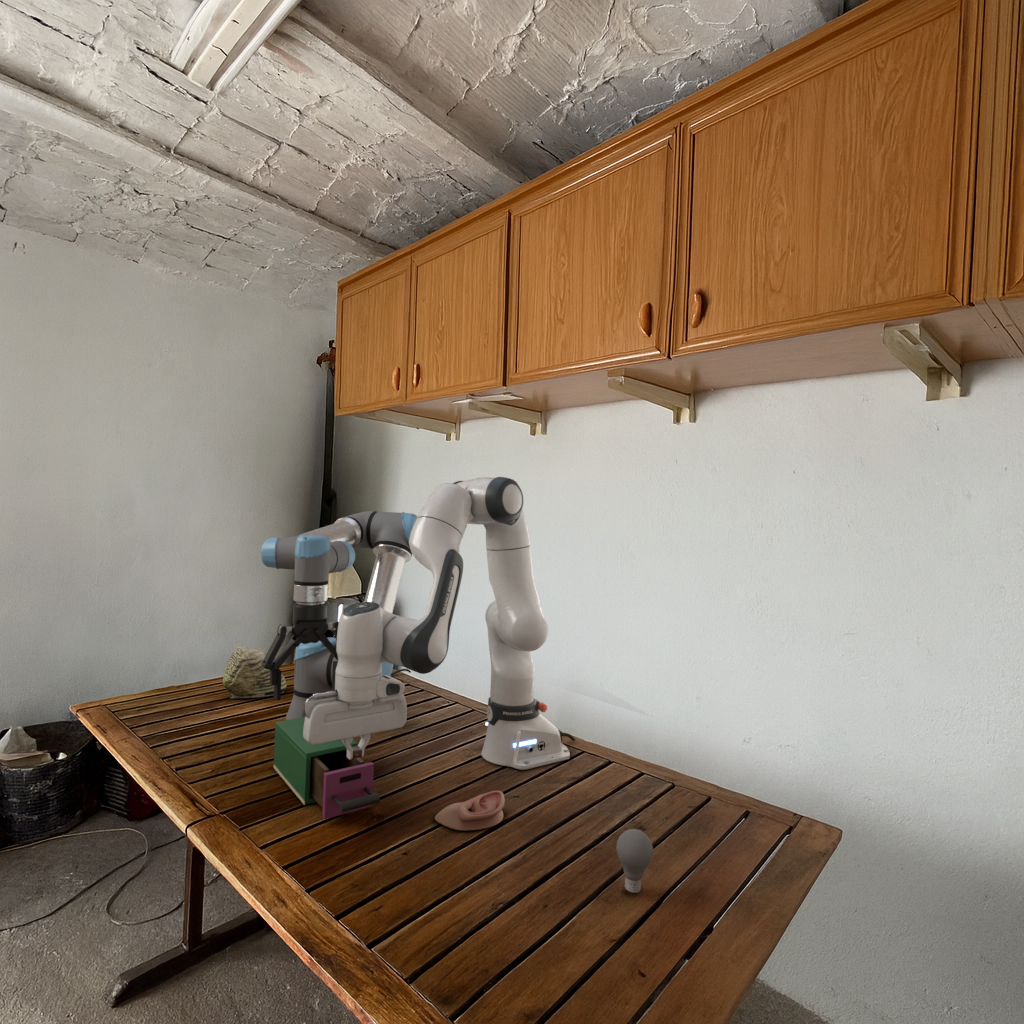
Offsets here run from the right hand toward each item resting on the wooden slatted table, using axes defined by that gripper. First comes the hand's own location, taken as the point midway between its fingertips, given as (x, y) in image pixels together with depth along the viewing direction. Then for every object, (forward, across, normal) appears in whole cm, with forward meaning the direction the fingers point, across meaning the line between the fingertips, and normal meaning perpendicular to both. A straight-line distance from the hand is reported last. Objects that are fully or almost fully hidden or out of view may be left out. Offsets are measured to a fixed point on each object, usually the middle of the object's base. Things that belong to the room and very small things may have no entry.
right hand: (355, 757), depth 124 cm
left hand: (-5, 0, +28) cm, 29 cm away
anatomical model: (+13, +20, -11) cm, 26 cm away
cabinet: (+13, 0, +22) cm, 26 cm away
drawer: (+12, 0, +9) cm, 15 cm away
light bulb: (+13, +30, -46) cm, 56 cm away
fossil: (+13, +5, +89) cm, 90 cm away
